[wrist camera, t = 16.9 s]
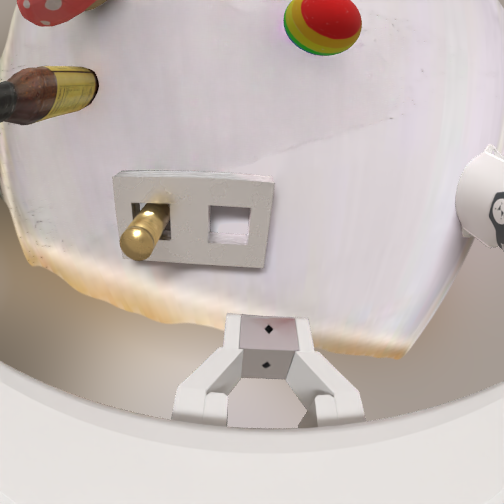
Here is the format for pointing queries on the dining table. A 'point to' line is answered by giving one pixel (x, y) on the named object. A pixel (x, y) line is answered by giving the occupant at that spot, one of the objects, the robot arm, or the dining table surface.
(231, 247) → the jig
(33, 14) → the decorative mushroom
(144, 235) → the brass cylinder
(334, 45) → the decorative egg
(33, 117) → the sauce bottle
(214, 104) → the dining table surface
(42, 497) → the robot arm
